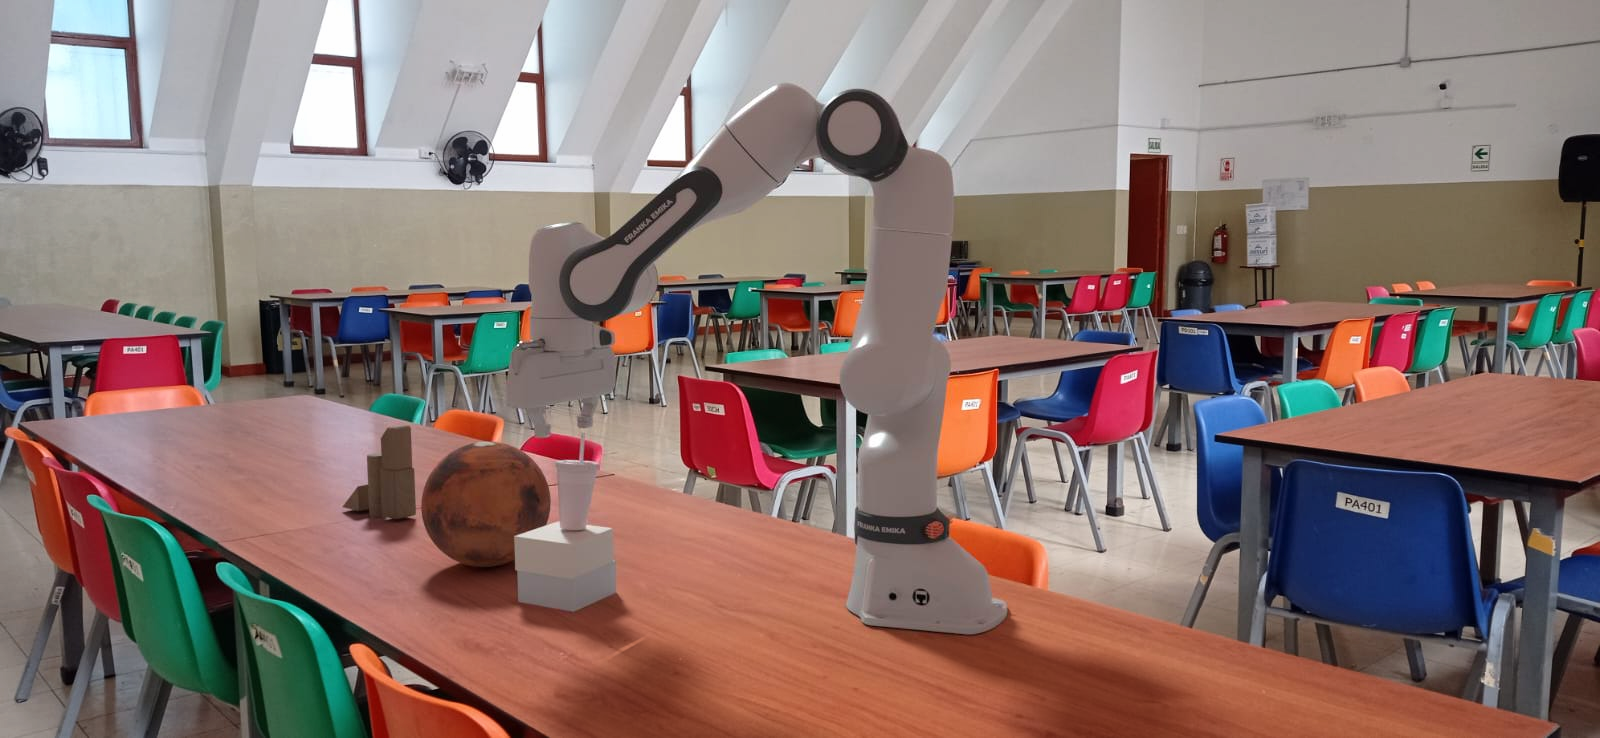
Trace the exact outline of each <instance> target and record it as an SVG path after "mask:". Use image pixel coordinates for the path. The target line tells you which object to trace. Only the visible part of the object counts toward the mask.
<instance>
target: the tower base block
mask: <svg viewBox="0 0 1600 738" xmlns="http://www.w3.org/2000/svg"><path fill="white" fill-rule="evenodd" d="M616 563H617V561H616V560H614V562H611V563H609V564H606V565H604V566H602V567H599V568H597V569H594V570H592V571H590V572H587V573H585V574H582V575H580V576H578V577H575V578H573V579H567V578H561V577H555V576H548V575H542V574H536V573H529V572H523V571H516V572H517V597H518V598H517V601H518V603H523V604H527V605H534V606H538V607H539V606H540V607H545V608H550V609H556V610H561V611H567V612H573V613H574V612H576V611H578V610H580V609H583V608H585V607H588V606H590V605H592V604H594V603H596V602H598V601H601V600H603V599H605V598H608V597H609V596H612V595H614V594H616V593H617V564H616Z"/></svg>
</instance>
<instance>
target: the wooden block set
mask: <svg viewBox="0 0 1600 738" xmlns="http://www.w3.org/2000/svg"><path fill="white" fill-rule="evenodd" d="M412 446H413V445H412V427H411V426H410V425H407V424H400V425H395V426H389V427H387V428H386V429H385V431H384V432H383V433H382V436H381V438H380V452H381V453H380V452H377V453H376V452H375V453H374V452H373V453H369V454H367V455H366V466H367V469H366V470H367V484H364V485H359V486H357V487H356V488H355V490H354V491H353V492H352V494H351V495H350V496H349V498H348V499H347V500H346V501H345V503H344V504H343V505H342V508H344V509H348V510H352V511H353V510H354V511H357V512H358V511H359V512H360V511H365V510H366V511H367V510H368V515H369V518H371V517H380V518H384V517H385V518H389V519H393V520H400V519H404V518H408V517H413V516H415V515H416V514H417V505H416V502H417V501H416V499H417V498H416V480H415V477H416V476H415V468H414V467H413V452H412V451H413V447H412ZM382 516H384V517H382Z"/></svg>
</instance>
